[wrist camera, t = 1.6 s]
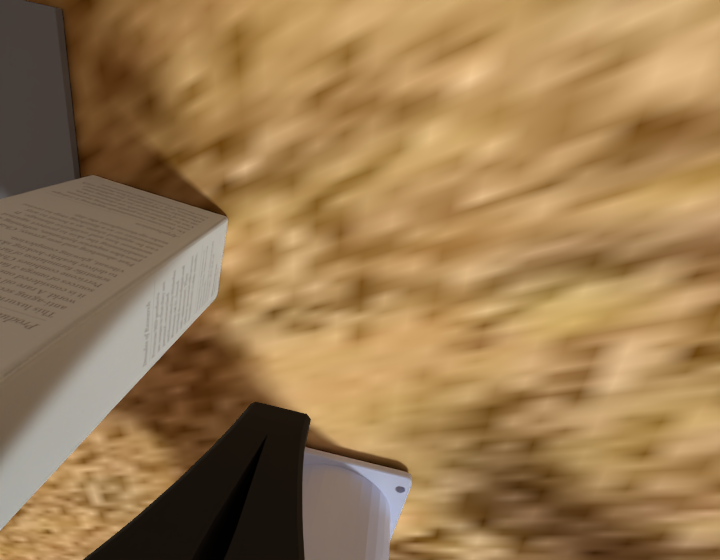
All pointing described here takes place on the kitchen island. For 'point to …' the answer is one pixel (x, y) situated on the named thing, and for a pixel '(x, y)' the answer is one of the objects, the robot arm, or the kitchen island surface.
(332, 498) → the robot arm
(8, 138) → the mat
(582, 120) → the kitchen island surface
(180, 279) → the skincare box
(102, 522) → the kitchen island surface
